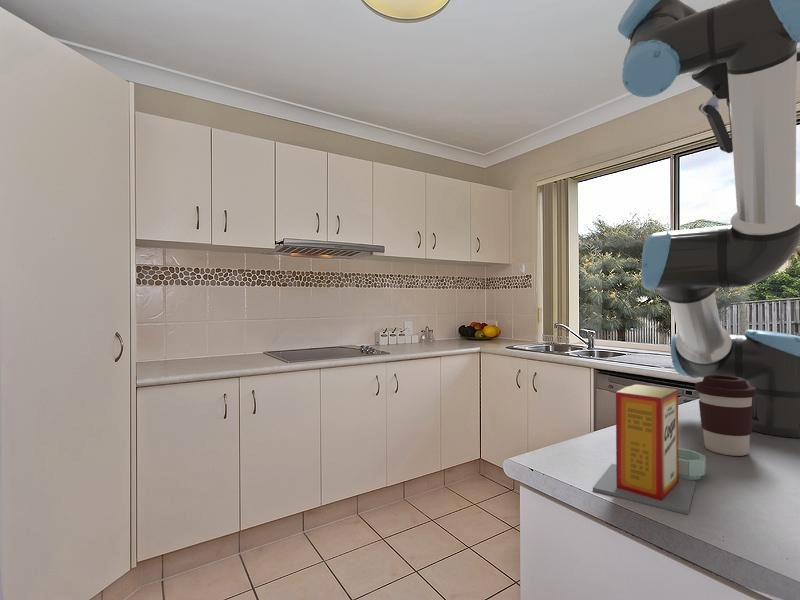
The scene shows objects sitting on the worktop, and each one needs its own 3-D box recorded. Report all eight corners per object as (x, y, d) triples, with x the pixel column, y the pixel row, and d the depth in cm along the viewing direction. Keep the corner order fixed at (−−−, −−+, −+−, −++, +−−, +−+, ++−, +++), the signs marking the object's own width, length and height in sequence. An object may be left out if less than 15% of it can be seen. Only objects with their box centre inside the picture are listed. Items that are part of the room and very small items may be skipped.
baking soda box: (636, 471, 77) (635, 382, 77) (678, 482, 72) (677, 387, 72) (616, 487, 71) (615, 389, 71) (661, 500, 66) (660, 395, 66)
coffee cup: (701, 439, 96) (699, 372, 96) (759, 449, 89) (757, 376, 89) (693, 451, 89) (691, 378, 89) (755, 463, 82) (753, 384, 82)
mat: (695, 484, 73) (695, 481, 73) (688, 514, 63) (687, 511, 63) (611, 466, 81) (611, 463, 81) (592, 490, 71) (592, 487, 71)
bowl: (706, 472, 78) (706, 452, 78) (703, 485, 72) (703, 464, 72) (661, 463, 82) (660, 444, 82) (654, 474, 77) (654, 455, 77)
